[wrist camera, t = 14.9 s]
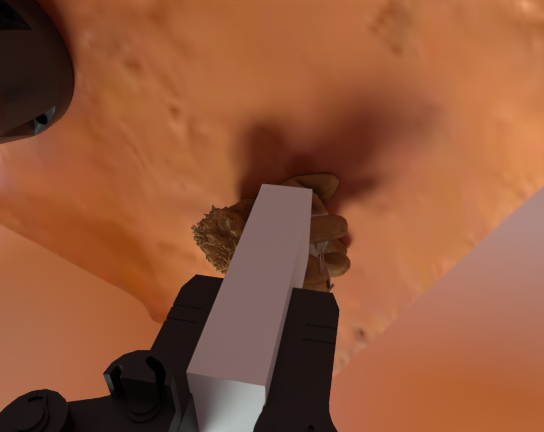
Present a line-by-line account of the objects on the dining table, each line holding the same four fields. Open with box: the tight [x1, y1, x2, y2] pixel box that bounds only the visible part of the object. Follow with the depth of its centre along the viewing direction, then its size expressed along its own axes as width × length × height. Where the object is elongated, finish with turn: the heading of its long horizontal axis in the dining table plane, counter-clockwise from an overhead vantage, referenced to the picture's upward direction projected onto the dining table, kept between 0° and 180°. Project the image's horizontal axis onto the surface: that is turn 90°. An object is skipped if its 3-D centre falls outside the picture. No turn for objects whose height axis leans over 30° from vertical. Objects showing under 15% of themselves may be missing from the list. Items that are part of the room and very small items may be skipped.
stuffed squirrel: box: [191, 174, 350, 292], centre depth 42 cm, size 10×14×13 cm
